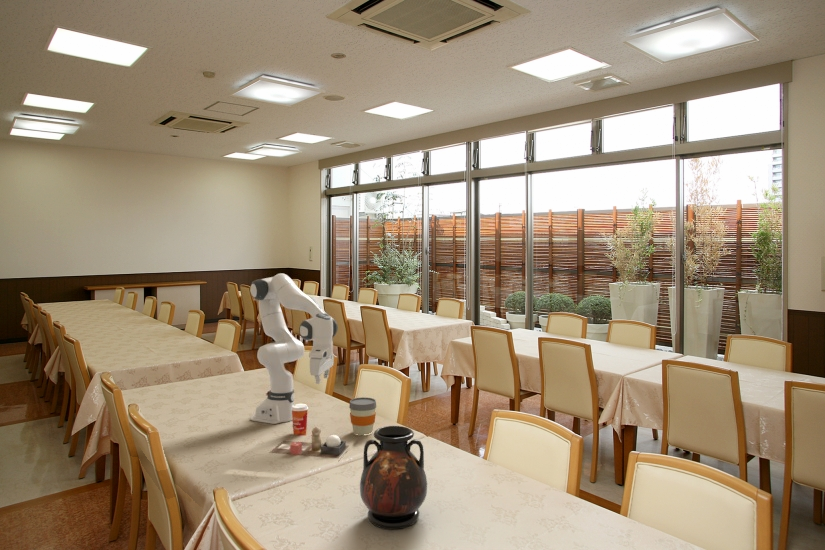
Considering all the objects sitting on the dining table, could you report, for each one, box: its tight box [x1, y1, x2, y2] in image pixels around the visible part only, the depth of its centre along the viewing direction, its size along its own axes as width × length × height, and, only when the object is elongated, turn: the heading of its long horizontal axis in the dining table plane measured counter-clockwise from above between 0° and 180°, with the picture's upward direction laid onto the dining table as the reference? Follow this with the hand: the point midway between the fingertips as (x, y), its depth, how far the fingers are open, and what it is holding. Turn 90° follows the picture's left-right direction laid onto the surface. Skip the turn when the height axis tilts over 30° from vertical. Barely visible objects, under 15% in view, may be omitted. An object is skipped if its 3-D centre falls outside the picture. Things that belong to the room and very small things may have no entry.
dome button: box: [325, 434, 342, 448], centre depth 223 cm, size 6×6×6 cm
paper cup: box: [291, 403, 309, 436], centre depth 245 cm, size 8×8×14 cm
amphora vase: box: [359, 425, 428, 530], centre depth 170 cm, size 22×22×28 cm
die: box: [289, 441, 302, 456], centre depth 221 cm, size 4×4×4 cm
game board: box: [268, 440, 349, 463], centre depth 225 cm, size 30×14×4 cm, turn 79°
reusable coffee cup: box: [348, 396, 377, 435], centre depth 249 cm, size 13×13×15 cm
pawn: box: [311, 426, 322, 451], centre depth 224 cm, size 4×4×9 cm
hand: (322, 380), depth 241 cm, fingers open, 8 cm apart
